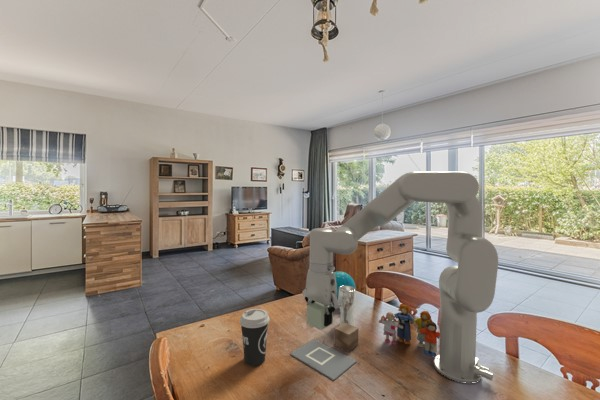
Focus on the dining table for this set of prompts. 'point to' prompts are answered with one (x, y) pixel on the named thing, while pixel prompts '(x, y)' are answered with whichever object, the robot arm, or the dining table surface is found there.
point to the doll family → (423, 325)
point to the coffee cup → (254, 335)
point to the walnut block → (346, 336)
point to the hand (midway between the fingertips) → (319, 320)
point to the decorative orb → (343, 280)
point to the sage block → (316, 315)
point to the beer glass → (347, 304)
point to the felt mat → (323, 359)
